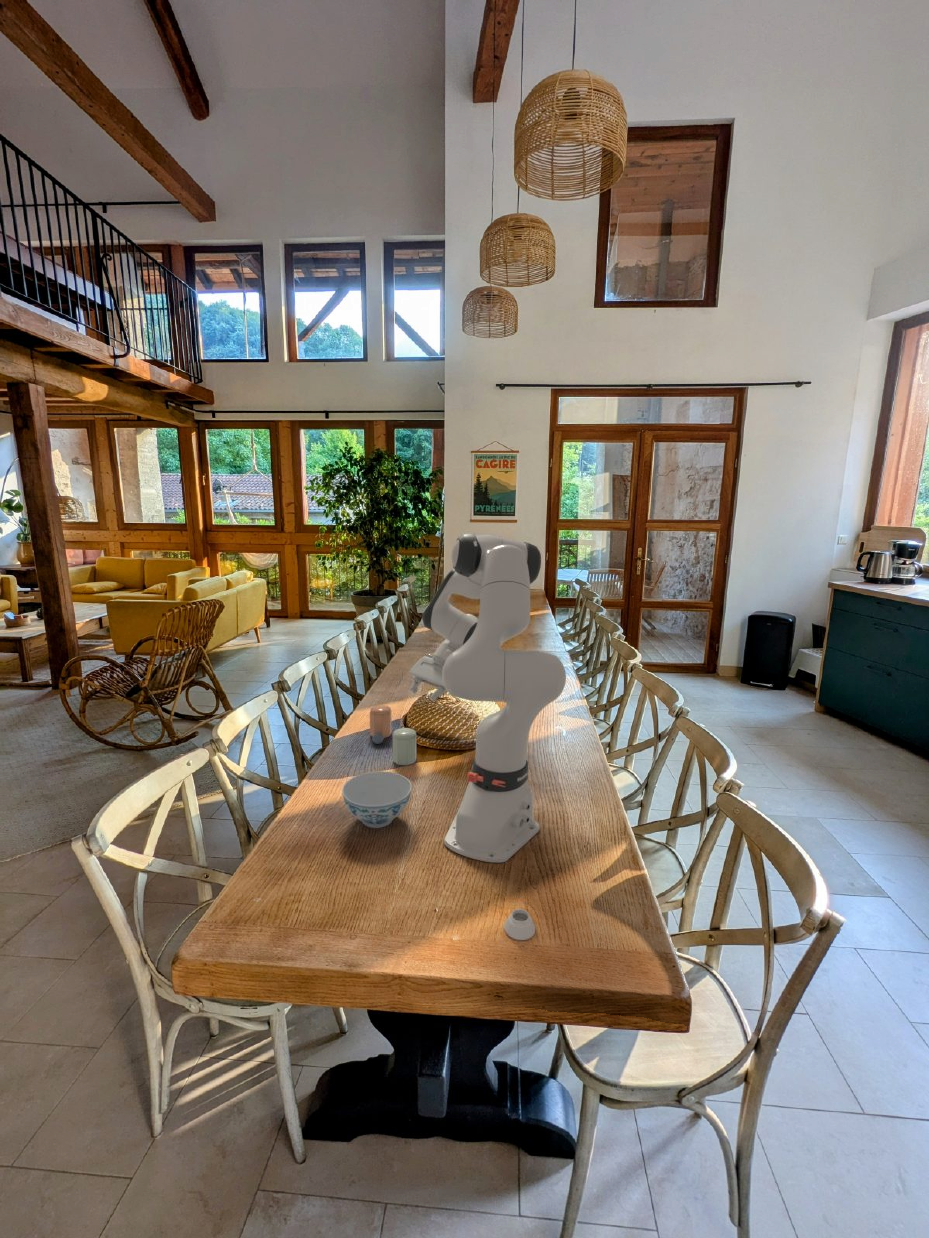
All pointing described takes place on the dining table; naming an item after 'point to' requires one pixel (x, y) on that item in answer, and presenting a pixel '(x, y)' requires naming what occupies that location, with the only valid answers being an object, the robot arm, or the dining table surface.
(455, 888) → the dining table surface
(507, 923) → the lidless jar
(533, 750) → the dining table surface
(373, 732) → the pink clay canister
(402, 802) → the chinaware
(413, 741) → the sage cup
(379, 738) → the marble
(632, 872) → the dining table surface
